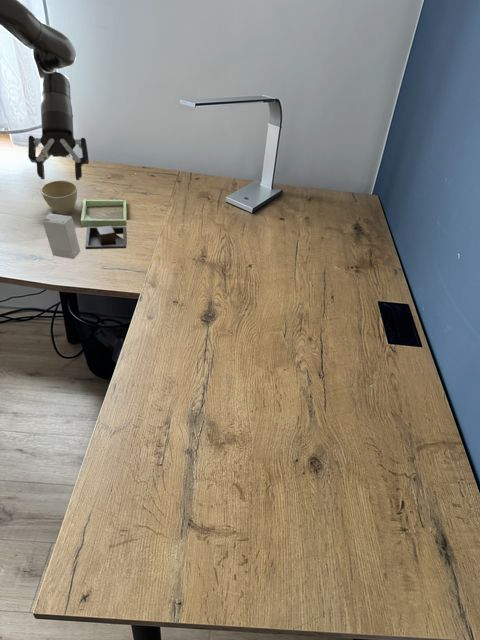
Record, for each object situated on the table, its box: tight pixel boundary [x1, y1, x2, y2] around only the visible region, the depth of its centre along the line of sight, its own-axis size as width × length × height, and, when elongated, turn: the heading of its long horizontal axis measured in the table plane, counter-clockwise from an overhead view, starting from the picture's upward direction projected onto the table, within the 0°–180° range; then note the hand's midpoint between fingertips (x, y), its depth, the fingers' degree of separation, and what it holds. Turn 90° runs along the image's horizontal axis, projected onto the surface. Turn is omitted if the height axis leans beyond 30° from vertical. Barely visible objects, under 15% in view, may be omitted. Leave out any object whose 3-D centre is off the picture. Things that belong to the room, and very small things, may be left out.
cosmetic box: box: [42, 213, 81, 260], centre depth 129 cm, size 6×4×12 cm
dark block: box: [97, 226, 116, 245], centre depth 139 cm, size 4×4×4 cm
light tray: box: [80, 199, 128, 228], centre depth 150 cm, size 13×13×3 cm
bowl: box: [40, 180, 78, 215], centre depth 149 cm, size 10×10×7 cm
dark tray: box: [84, 226, 128, 250], centre depth 140 cm, size 11×11×3 cm
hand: (60, 178), depth 129 cm, fingers open, 8 cm apart
